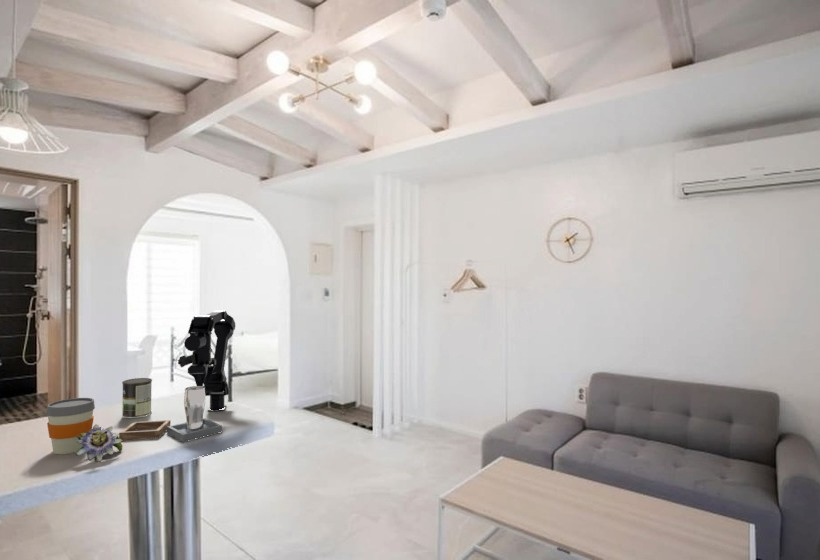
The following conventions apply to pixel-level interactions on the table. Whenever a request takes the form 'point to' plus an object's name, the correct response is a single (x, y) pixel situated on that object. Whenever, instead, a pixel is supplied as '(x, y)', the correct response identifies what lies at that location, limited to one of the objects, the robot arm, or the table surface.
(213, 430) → the coaster tray
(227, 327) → the robot arm
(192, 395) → the shiny silver hollow cylinder
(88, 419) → the reusable coffee cup
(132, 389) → the coffee can
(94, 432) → the passion flower
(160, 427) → the walnut collar
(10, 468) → the table surface
